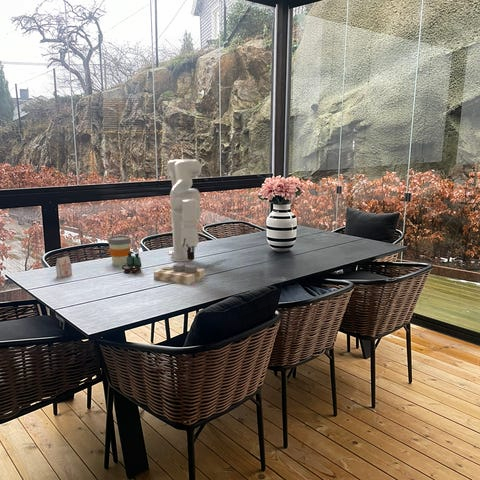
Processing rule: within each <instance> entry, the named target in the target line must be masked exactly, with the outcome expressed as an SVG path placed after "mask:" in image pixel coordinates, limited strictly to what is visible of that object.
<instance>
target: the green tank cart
mask: <svg viewBox="0 0 480 480" xmlns="http://www.w3.org/2000/svg"><path fill="white" fill-rule="evenodd" d="M142 266H143V265H142V261H141V257H140V256H139V252H136V253H135V254H134V256H133V255H132V252H131V251H130V252H128V257H127V263H126V264H124V265H121V269H122V270H123V273H124V274H132V275H135V274H137V273H139V272H142V269H141V268H142Z"/></svg>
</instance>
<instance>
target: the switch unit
mask: <svg viewBox="0 0 480 480" xmlns="http://www.w3.org/2000/svg"><path fill="white" fill-rule="evenodd" d="M173 265H174V264H169V265H167V266H164V267H162V268H160V269H157V270H155V271H153V280H157V281H163V282H169V283H178V284H185V285H190V284H192V283H194V282H197V281H199V280H200V279H202V278H205V277H206V272H205V271H206V269H205V268H199V267H197V272H195V273H193V274H192V273H185V271H182V272H176V271H174V269H172V270H170V271H169V270H162V269H163V268H165V267H173Z"/></svg>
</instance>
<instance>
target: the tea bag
mask: <svg viewBox="0 0 480 480" xmlns="http://www.w3.org/2000/svg"><path fill="white" fill-rule="evenodd" d="M55 270H56V273H55V274H56V277H57V278H59V279H61V278H65V277H66V278H67V277H69V276H73V270H72V262H71V259H70V256H64V257H60V258H59V257H58V258H56V263H55Z"/></svg>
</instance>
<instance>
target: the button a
mask: <svg viewBox="0 0 480 480" xmlns="http://www.w3.org/2000/svg"><path fill="white" fill-rule="evenodd" d="M164 267H165V268H164ZM164 267H162V268H163V269H162V268H161V269H162V270H169V271H170V270H172V269H174V267H167V266H164Z"/></svg>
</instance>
